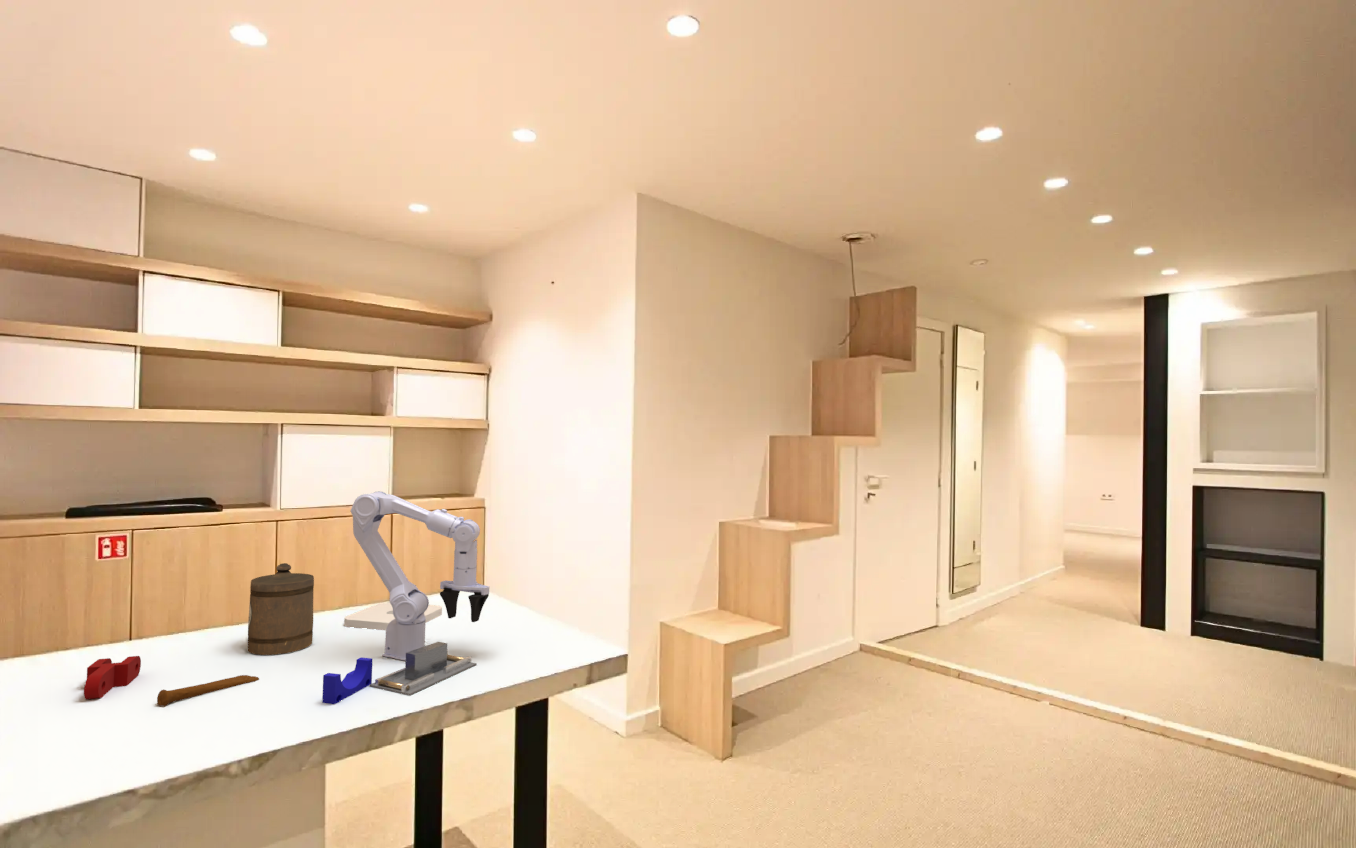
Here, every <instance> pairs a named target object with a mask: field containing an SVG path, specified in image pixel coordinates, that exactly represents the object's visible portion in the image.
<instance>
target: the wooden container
mask: <svg viewBox="0 0 1356 848" xmlns="http://www.w3.org/2000/svg"><path fill="white" fill-rule="evenodd" d="M275 568H276V571H277V572H276V573H275V574H269V575H267V574H266V575H263V576H258V577H255V578H253V579H251V580H250V587H249V589H250V590H249V591H250V595H249V607H248V609H249V610H248V622H247V623H248V625H247V652H249V654H252V655H256V656H275V655H277V656H278V655H284V654H290V653H295V652H298V651H301V650H304V649H307V648H308V647H310V646H311V645H312V644H313V639H314V638H313V636H314V635H313V634H314V632H313V630H314V586H315V579H314V578H315V577H314V575H313V574H308V573H302V572H301V573H299V572H298V573H296V572H291V571H290V570H292V566H291V565H290V564H289V563H280V564H279V565H277V566H276V567H275Z"/></svg>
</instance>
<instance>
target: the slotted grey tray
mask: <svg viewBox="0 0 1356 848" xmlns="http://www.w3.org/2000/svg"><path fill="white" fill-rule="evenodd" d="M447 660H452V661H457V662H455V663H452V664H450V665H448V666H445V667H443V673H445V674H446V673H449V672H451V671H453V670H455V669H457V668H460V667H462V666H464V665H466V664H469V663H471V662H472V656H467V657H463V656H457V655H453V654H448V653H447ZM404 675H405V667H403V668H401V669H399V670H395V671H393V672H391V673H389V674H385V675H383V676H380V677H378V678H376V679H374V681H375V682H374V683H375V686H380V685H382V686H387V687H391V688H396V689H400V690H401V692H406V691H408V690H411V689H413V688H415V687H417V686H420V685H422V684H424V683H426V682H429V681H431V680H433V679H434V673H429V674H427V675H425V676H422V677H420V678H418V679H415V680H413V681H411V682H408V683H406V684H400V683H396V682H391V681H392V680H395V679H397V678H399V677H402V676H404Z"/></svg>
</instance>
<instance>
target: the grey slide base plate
mask: <svg viewBox="0 0 1356 848" xmlns="http://www.w3.org/2000/svg"><path fill="white" fill-rule="evenodd" d="M455 662H457V661H452V660H447V666H448V665H450V664H452V663H455ZM475 666H477V663H476V662H472V661H471V663H469V664H466V665H464V666H462V667H460V668H457V669H455V670H453V671H451V672H449V673H446V674H445V673H443V670H441V671H438V672H436V673H434V679H433V680H431V681H429V682H426V683H424V684H422V685H420V686H417V687H415V688H413V689H411V690H408V691H406V692H401V690H400V689H396V688H391V687H387V686H382V685H380V686H375V682H373V683H372V684H370V685H369V687H371V688H374V689H379V690H383V689H384V690H383V691H389V692H394V693H396V694H401V693H402V695H405V696H412V695H415V694H417V693H419V692H421V691H423V690H425V689H428V688H429V686H430V687H432V686H434V685H436V684H438V683H440V681H441V682H442V680H443V681H445V680H447V679H449V678H451V676H452V677H454V676H456V675H458V674H460V673H462V672H464V671H467V670H469V669H472V668H474V667H475ZM468 668H469V669H468ZM453 675H454V676H453ZM446 678H447V679H446ZM444 679H445V680H444ZM411 681H412V680H408V679H405V675H404V676H402V677H399V678H397V679H395V680H392V681H391V682H396V683H400V684H406V683H408V682H411ZM437 682H438V683H437ZM435 683H436V684H435ZM427 687H428V688H427ZM422 689H423V690H422ZM414 693H415V694H414Z"/></svg>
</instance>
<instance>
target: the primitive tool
mask: <svg viewBox="0 0 1356 848" xmlns="http://www.w3.org/2000/svg"><path fill="white" fill-rule="evenodd" d="M259 680H260V677H259V676H255V675H254V676H253V675H248V674H243V675H242V674H241V675H237V676H233V677H227V678H223V679H218V680H215V681H211V682H206V683H200V684H197V685H191V686H186V687H181V688H177V689H176V688H175V689H171V690H167V689H160V690H159V692H158V695H157V697H156V704H157V706H159V707H167V706H168V705H169V704H173V703H174V702H175V703H176V702H179V701H182V700H183V701H184V700H187V699H192V698H194V697H199V696H202V695H207V694H210V693H215V692H218V691H221V690H226V689H230V688H233V687H237V686H241V685H246V684H249V683H255V682H256V681H259Z"/></svg>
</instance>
